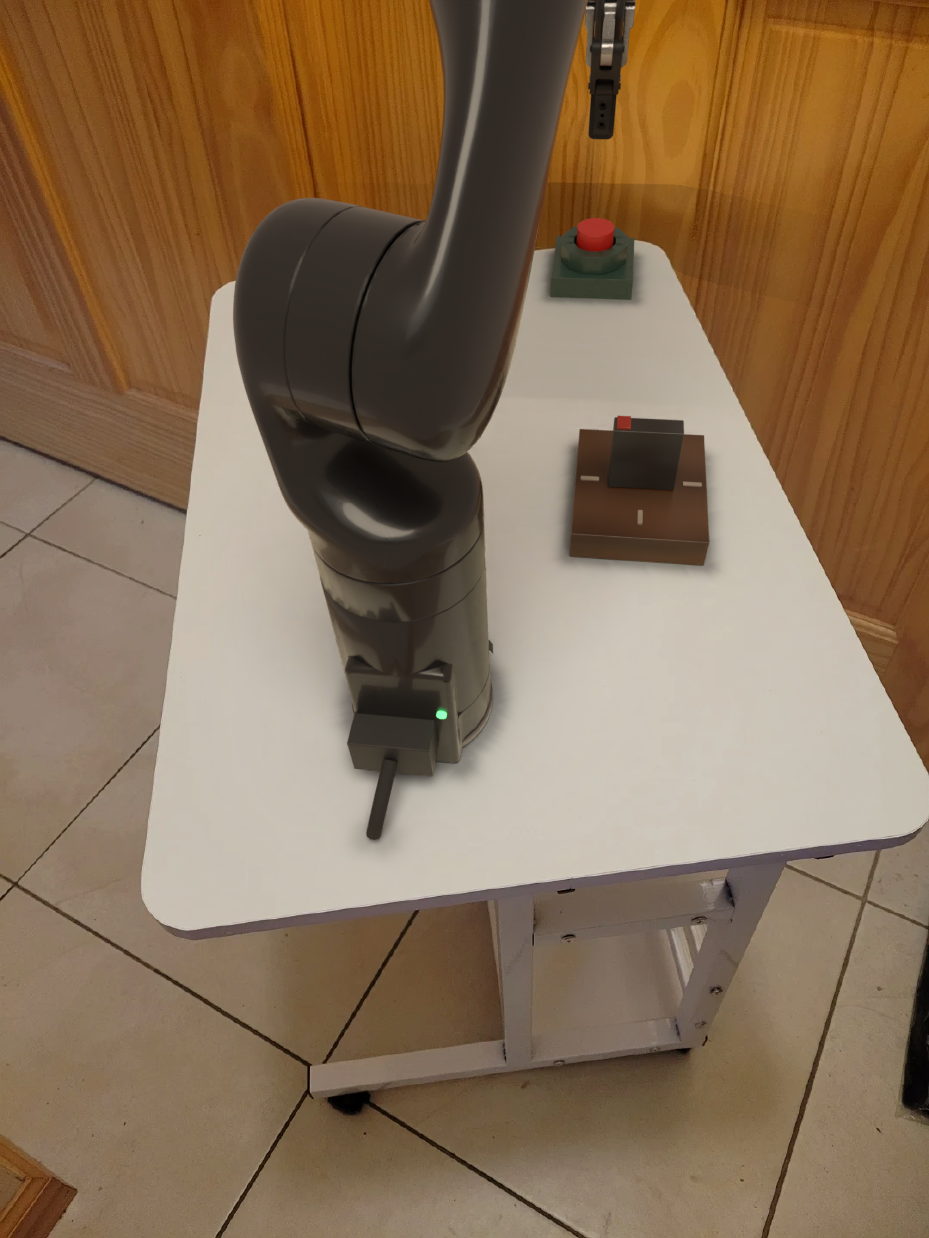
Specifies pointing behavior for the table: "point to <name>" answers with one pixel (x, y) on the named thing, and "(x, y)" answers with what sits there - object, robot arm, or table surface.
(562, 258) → the button box
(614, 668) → the table surface
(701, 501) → the panel
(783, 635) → the table surface
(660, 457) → the lock knob
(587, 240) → the button
